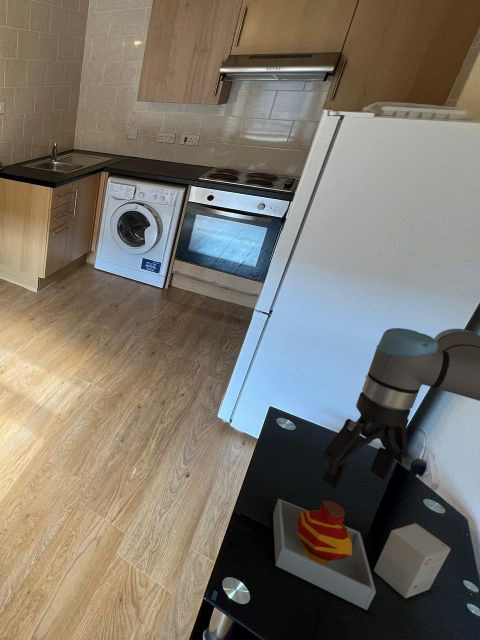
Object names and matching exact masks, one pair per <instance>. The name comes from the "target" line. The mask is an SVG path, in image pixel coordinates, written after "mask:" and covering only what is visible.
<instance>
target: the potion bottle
mask: <svg viewBox="0 0 480 640" xmlns="http://www.w3.org/2000/svg"><path fill="white" fill-rule="evenodd" d="M319 509H320V510H319ZM319 509H313V510H307V511H306V512H301V513H300V516H299V517H298V522H296V525H297V534H298V537H299V539H300V541H301V543H302V551H303V553H304V554H305V555H306V556H307V557H308V558H309V559H310V560H313V561H315V562H317V563H319V564H321V565H328V564H329V561H332V560H338V559H344V558H346V557H347V556H348V555H352V541H351V532H350V531H349V530H348V529H347V528H346V527H347V526H346V525H345V524H343V522H345V518H344V517H345V516H346V510H345V509H344V508H343V507H342V506H341V505H340V504H338V503H336V502H334V501H332V500H322V504H321V505H319ZM345 526H346V527H345ZM349 534H350V538H349Z"/></svg>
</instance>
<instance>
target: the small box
mask: <svg viewBox="0 0 480 640" xmlns="http://www.w3.org/2000/svg"><path fill="white" fill-rule="evenodd" d="M450 551H451V547H450V546H448V545H447V544H446V543H444V542H443V541H442V540H440V539H439V538H438V537H436V536H435V535H433V534H432V533H431V532H429V531H428V530H426V529H425V528H424V527H422V526H421V525H419V524H418V523H416V522H414V523H411V524H408V525H404V526H401V527H398V528H394V529H392V530H391V531H390V533H389V535H388V538H387V540H386V542H385V544H384V546H383V548H382V551H381V553H380V555H379V557H378V560H377V562H376V564H375V566H374V568H373V572H374V573H375V574H377V575H378V576H379V577H380V578H381V579H382V580H383V581H384V582H386V584H388V585H389V586H390V587H391V588H393V589H394V590H395V591H396V592H397V593H398V594H399V595H401V596H402V597H403V598H404V599H408V598H410V597H413V596H416V595H418V594H422V593H424V592H426V591H428V590H430V589H431V587H432V585H433V583H434V582H435V580H436V578H437V575H438V573H439V572H440V570H441V568H442V566H443V565H444V562H445V561H446V559H447V557H448V556H449V553H450Z"/></svg>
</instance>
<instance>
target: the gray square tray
mask: <svg viewBox="0 0 480 640" xmlns="http://www.w3.org/2000/svg"><path fill="white" fill-rule="evenodd" d="M306 511H308V510H307V509H305V508H303V507H301V506H298V505H295V504H293V503H291V502H288V501H285V500H283V499H280V498H278V499H277V502H276V505H275V508H274V510H273V514H272V521H273V523H272V524H273V541H274V543H273V544H274V559H275V560H274V561H275V562H274V563H275V567H277V568H279V569H282V570H284V571H285V572H287V573H290V574H292V575H294V576H296V577H298V578H300V579H302V580H304V581H307V582H308V583H310V584H312V585H314V586H317V588H318V587H319V588H320V589H322V590H324V591H327V592H329V593H331V594H333V595H335V596H337V597H339V598H342V599H343V600H345V601H347V602H349V603H351V604H353V605H355V606H357V607H360V608H362V609H364V610H365V611H368V609H369V607H370V605H371V603H372V601H373V599H374V597H375V595H376V594H377V591H376V587H375V583H374V579H373V575H372V571H371V568H370V564H369V561H368V556H367V553H366V550H365V545H364V542H363V538H362V534H361V532H360V531H358V530H356V529H354V528H351V527H348V526H346V525H344V526H345V527H346V528H347V529H348V530H349V531H350V532H351V541H352V555H348V556H347V557H346V558H344V559H338V560H332V561H329V564H328V565H321V564H319V563H317V562H315V561H313V560H310V559H309V558H308V557H307V556H306V555H305V554H304V553H303V551H302V543H301V541H300V539H299V537H298V534H297V525H296V522H298V517H299V516H300V513H301V512H306ZM349 538H350V534H349Z"/></svg>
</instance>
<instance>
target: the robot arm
mask: <svg viewBox="0 0 480 640" xmlns="http://www.w3.org/2000/svg"><path fill="white" fill-rule="evenodd" d="M423 385H424V386H427V387H431V388H433V389H438V390H440V391H444V392H448V393H451V394H455V395H458V396H461V397H465V398H468V399H471V400H475V401H479V402H480V335H479V334H477V333H476V332H474V331H472V330H470V329H469V330H468V329H464V328H448V329H445V330H443V331H440V332H439V333H437V334H436V336H434V337H432V336H431V335H429V334H426V333H423V332H422V333H421V332H419V331H417V330H413V329H409V328H403V327H402V328H401V327H392V328H388V329H386V330H385V331H384V332H383V334H382V335H381V338H380V340H379V343H378V344H377V345H376V349H375V352H374V355H373V357H372V361H371V363H370V366H369V368H368V372H367V374H366V375H365V381H364V384H363V386H362V389H361V392H360V393H359V396H358V398H357V401H356V404H355V407H356V409H357V411H358V412H359V414H360V416H359V417H358V418H357V420H356V421H354V420H353V419H351V418H347V419H346V420H345V422H344V423H343V426H342V427H341V429H340V430H339V432H338V433H337V434H336V435H335V436H334V438H333V439H332V440H331V441H330V443H329V444H328V445H327V446H326V448H325V449H324V450H323V452H322V453H321V456H322V457H324V458H325V459H327V460H328V463H327V465H326V468H325V471H324V474H323V475H322V476H323V477H322V480H323V481H324V482H325V483H327V484H328V485H329V486H330V487H331V488H332V489H334V490H338V488H339V486H340V484H341V481H342V479H343V476H344V473H345V471H346V468H347V464H345V463H346V462H347V461H348V460H349V459H350V458H351V457H353V456H354V455H355V454H356V453H357V452H358V451H359V450H360V449H361V448H362V447H363V446H365V445H369V444H370V445H371V443H372V442H373V441H374V440H379V441H380V443H381V445H382V446H381V447H378V449H377V451H376V455H375V456H374V459H373V462H372V465H371V467H370V469H369V471H370V472H371V473H373V474H375V475H376V476H377V477H379V478H380V479H382V480H383V481H385V480H387V479H388V476H389V474H390V472H391V469H392V467H393V465H394V462H395V459H396V456H397V457H399V458H401V459H402V458H404V456H405V452H407V451H408V429H407V428H408V424H409V421H410V420H409V415H410V414H411V409H412V408H413V407H414V405H415V402H416V400H417V397H418V394H419V392H420V390H421V387H422V386H423Z"/></svg>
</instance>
